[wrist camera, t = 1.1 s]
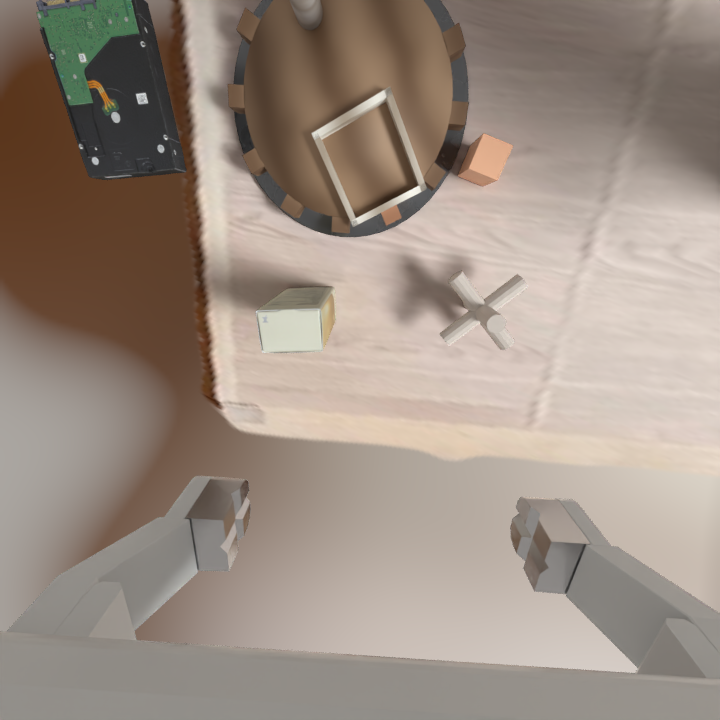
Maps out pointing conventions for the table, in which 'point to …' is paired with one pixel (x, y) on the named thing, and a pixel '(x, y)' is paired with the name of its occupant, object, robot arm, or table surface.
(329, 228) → the dial base
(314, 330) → the skincare box
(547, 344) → the table surface
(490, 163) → the orange rectangular block
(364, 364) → the table surface
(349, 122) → the dial
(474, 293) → the pipe connector
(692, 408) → the table surface
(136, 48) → the disk drive
